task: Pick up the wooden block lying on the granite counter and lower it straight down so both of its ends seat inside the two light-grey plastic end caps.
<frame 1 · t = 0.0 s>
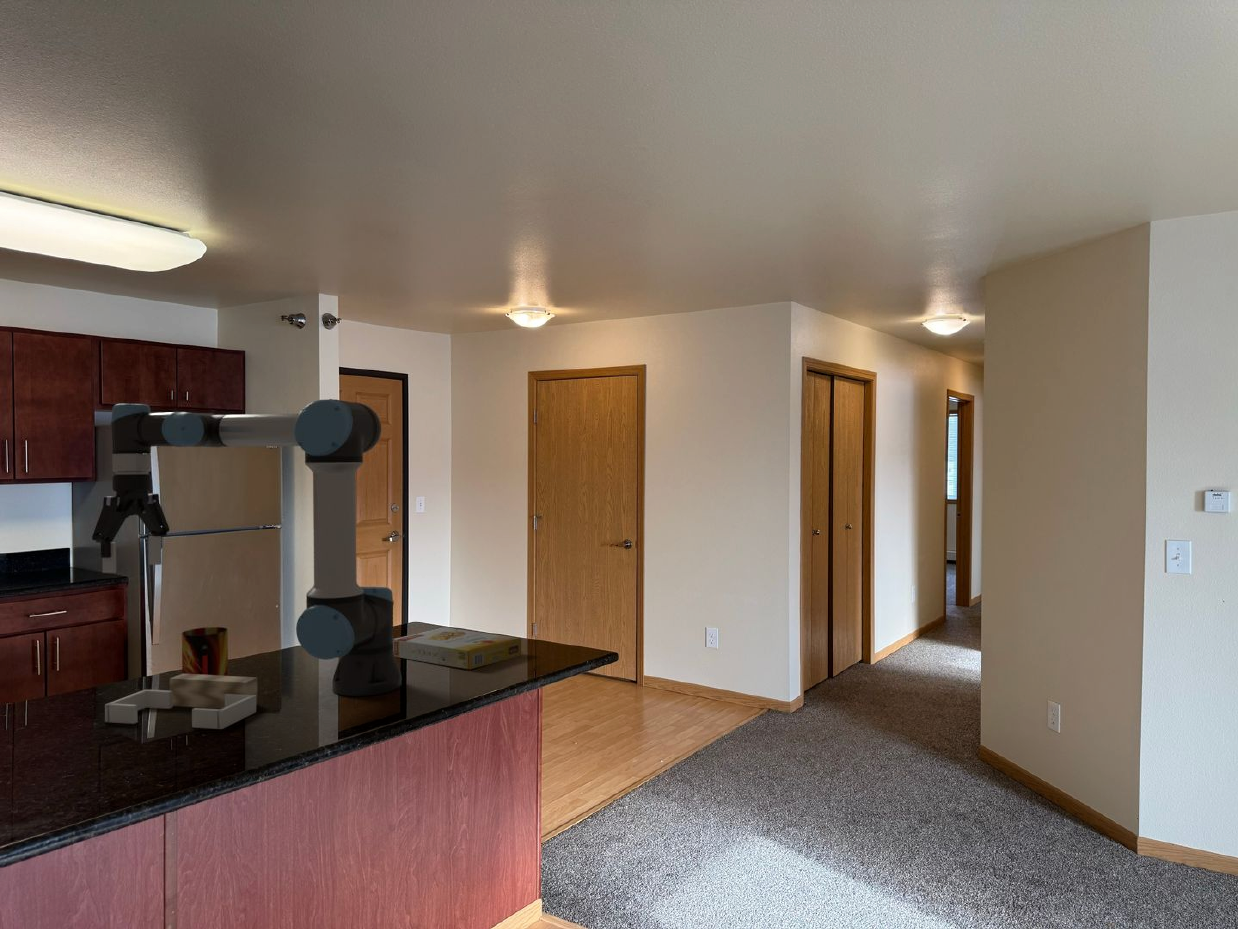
hand: (133, 568, 188), 28 cm above the table, fingers open, 13 cm apart
endcap far: (140, 714, 173), on the table
mug: (209, 684, 196), on the table
wooden block: (213, 706, 179), on the table
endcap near: (224, 719, 169), on the table
cereal box: (456, 658, 222), on the table
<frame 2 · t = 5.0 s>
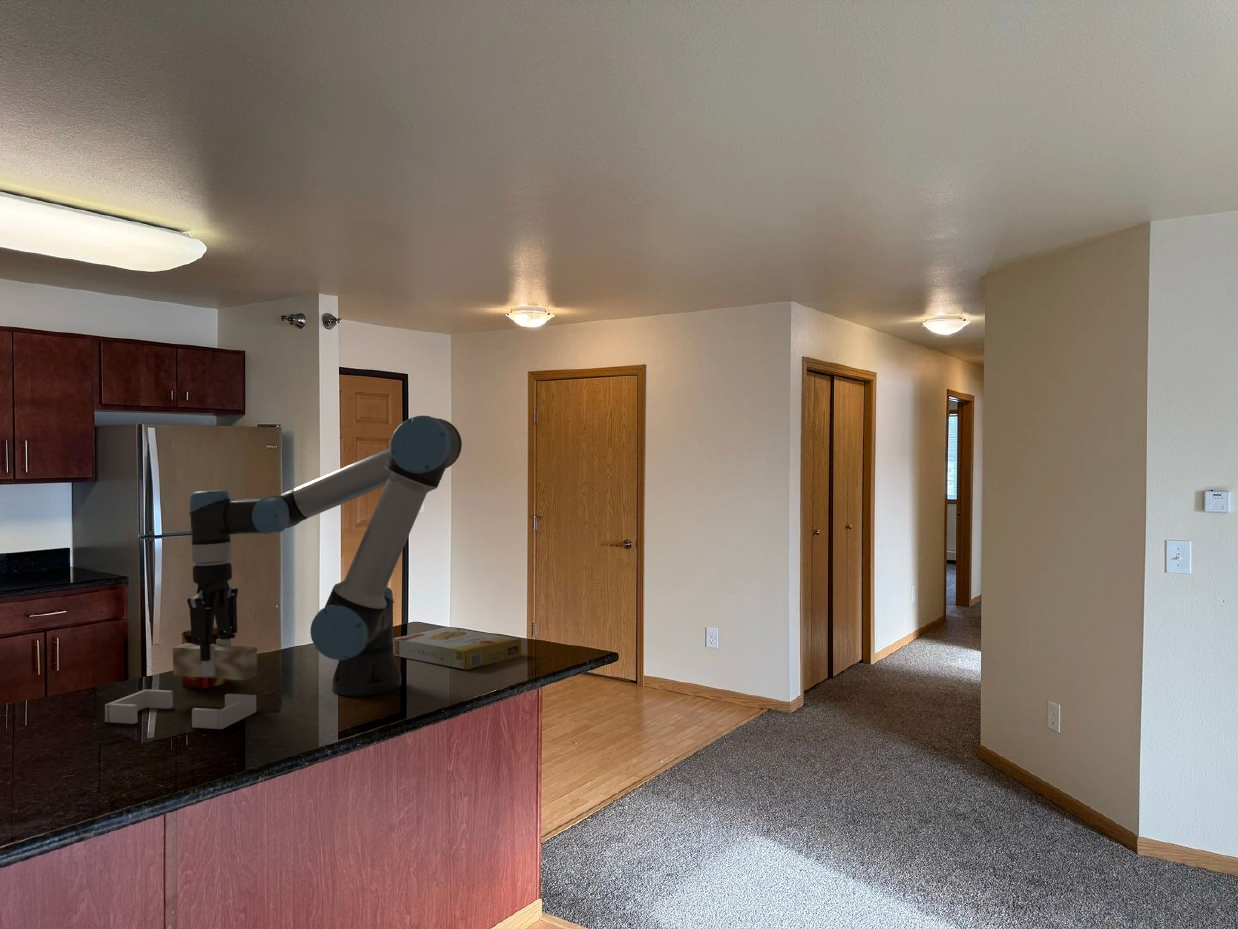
hand: (216, 672, 179), 7 cm above the table, fingers closed on wooden block, 4 cm apart
wooden block: (215, 675, 179), point 6 cm above the table, touching gripper
everything else where it was.
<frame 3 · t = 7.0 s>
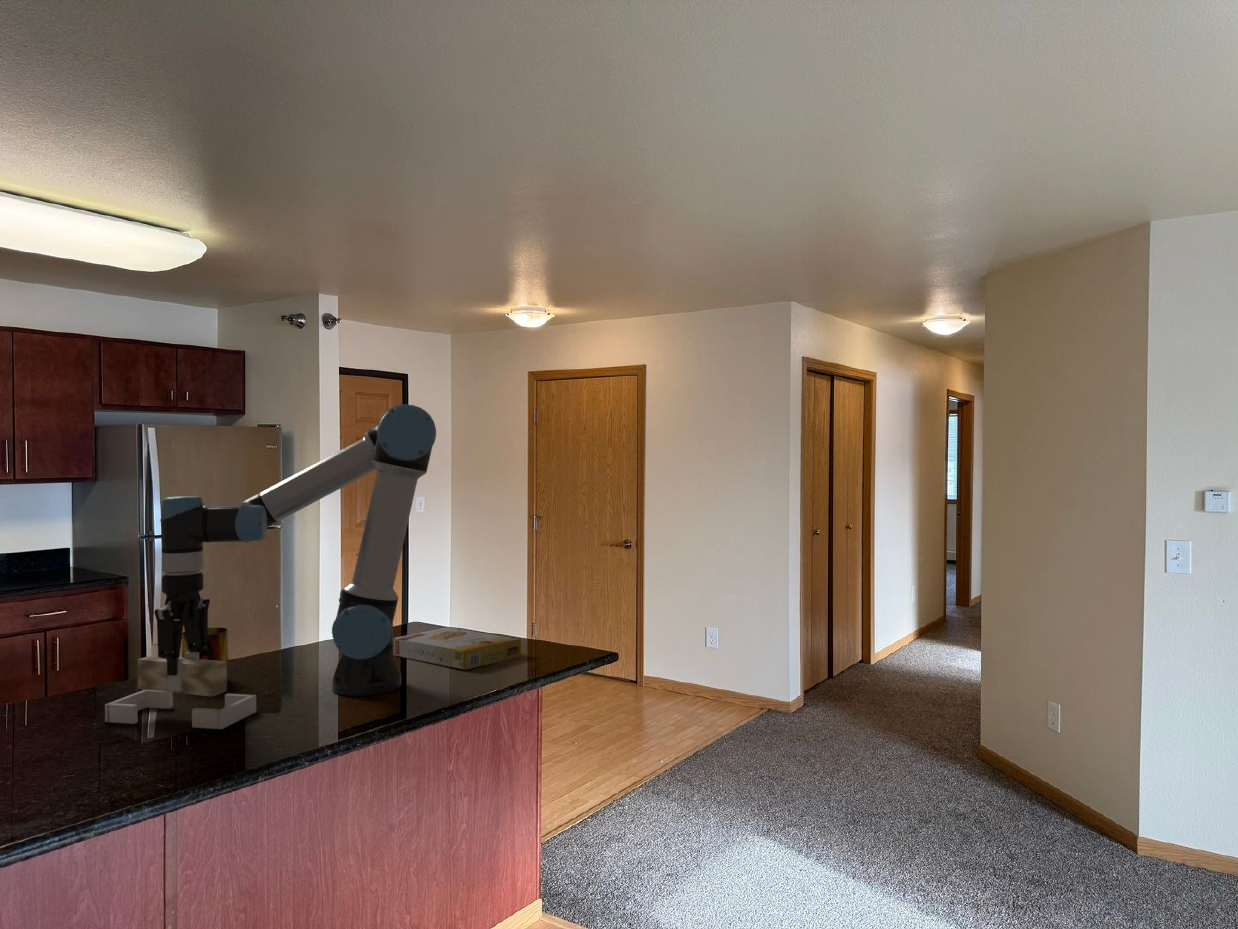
hand: (184, 687, 171), 6 cm above the table, fingers closed on wooden block, 4 cm apart
wooden block: (182, 689, 171), point 6 cm above the table, touching gripper
everything else where it was.
when the fingers open (2 cm above the table, at t = 9.2 s): wooden block drops 2 cm, on the table.
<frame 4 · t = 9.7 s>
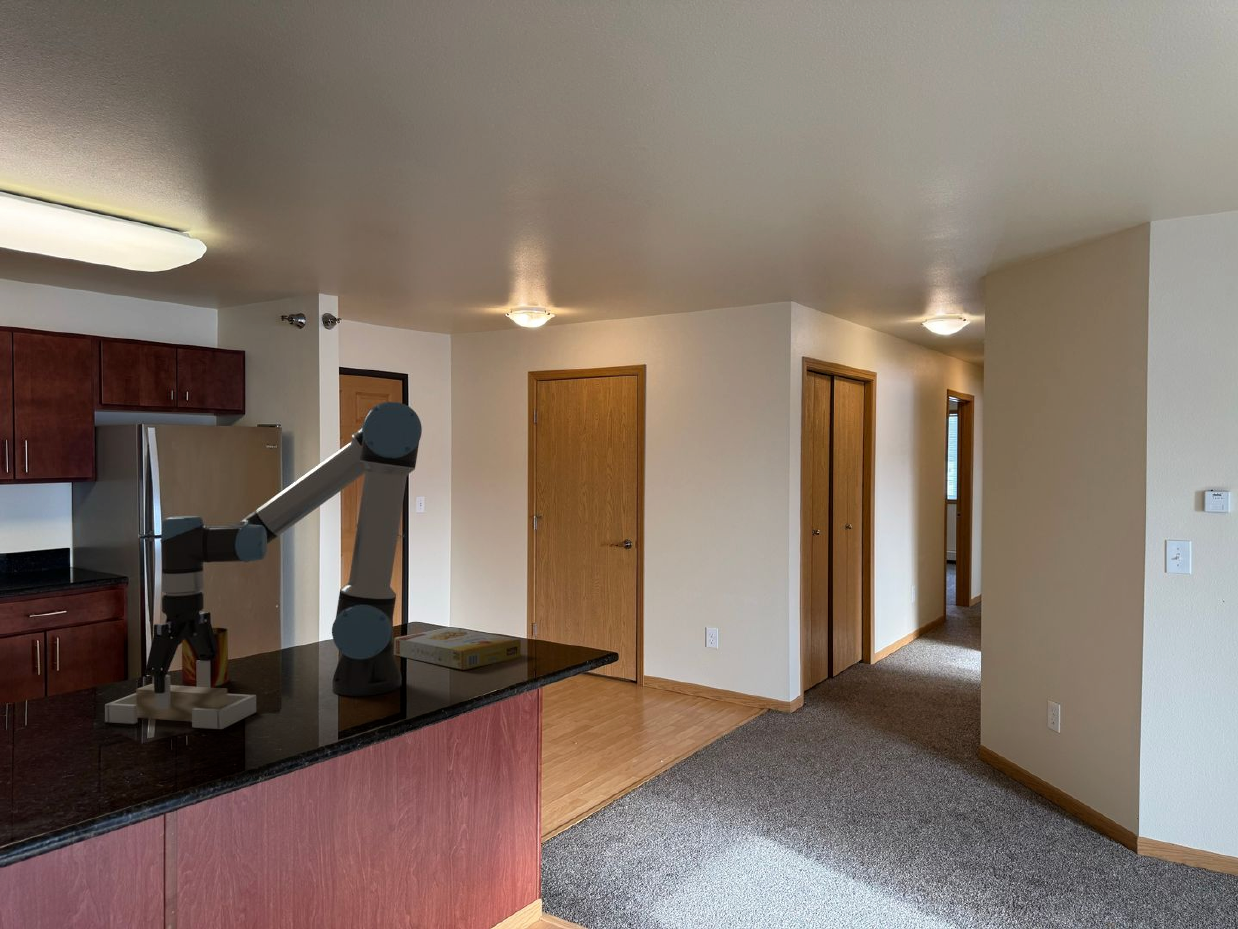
hand: (184, 700, 171), 3 cm above the table, fingers open, 11 cm apart
wooden block: (182, 718, 171), on the table
everything else where it was.
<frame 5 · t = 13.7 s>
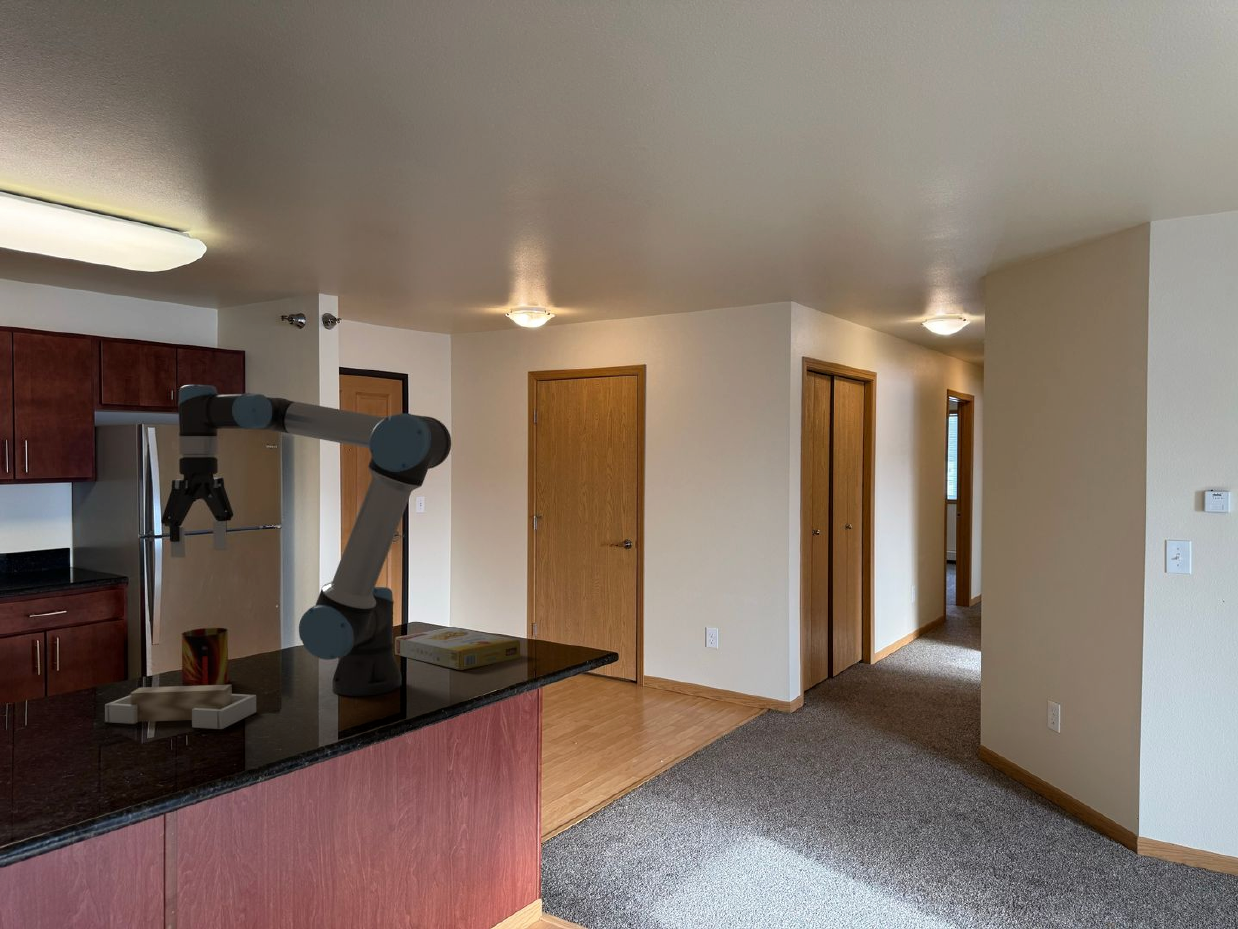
hand: (199, 553, 184), 32 cm above the table, fingers open, 13 cm apart
at the end: wooden block 0.0 cm from the target spot, on the table; wooden block tilted 0°; the gripper is holding nothing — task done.
